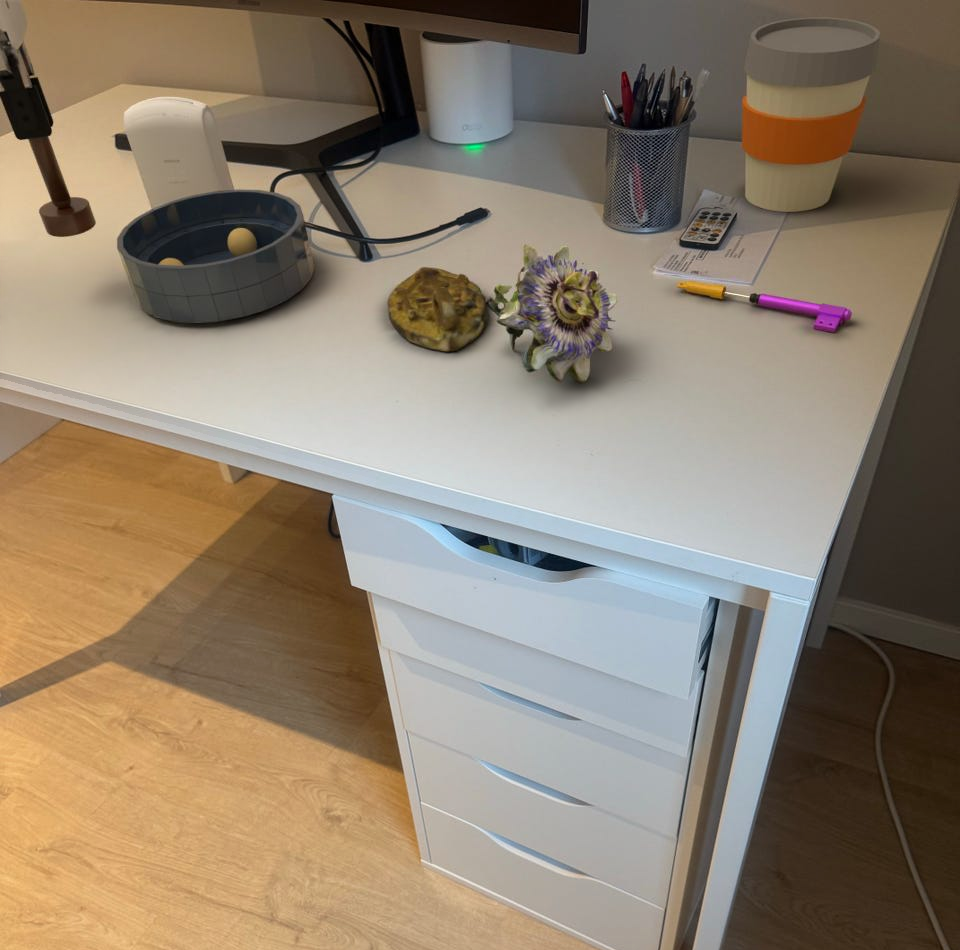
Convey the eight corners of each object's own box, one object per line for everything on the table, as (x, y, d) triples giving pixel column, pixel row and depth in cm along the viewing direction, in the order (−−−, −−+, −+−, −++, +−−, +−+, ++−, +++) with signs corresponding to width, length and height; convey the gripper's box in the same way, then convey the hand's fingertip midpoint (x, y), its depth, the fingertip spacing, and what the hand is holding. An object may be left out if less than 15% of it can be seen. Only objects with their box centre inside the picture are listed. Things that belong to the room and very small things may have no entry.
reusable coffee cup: (847, 221, 93) (884, 53, 82) (722, 216, 96) (742, 53, 85) (848, 174, 101) (882, 15, 90) (733, 171, 104) (752, 17, 93)
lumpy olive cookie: (378, 299, 91) (410, 371, 81) (366, 254, 87) (397, 322, 77) (466, 271, 91) (508, 339, 81) (457, 225, 88) (500, 290, 78)
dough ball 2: (233, 266, 95) (225, 237, 93) (230, 254, 97) (223, 226, 95) (261, 260, 95) (254, 232, 93) (258, 249, 97) (251, 221, 95)
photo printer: (149, 223, 106) (110, 106, 97) (164, 208, 109) (127, 93, 100) (232, 222, 104) (200, 103, 95) (244, 207, 107) (214, 90, 98)
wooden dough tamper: (45, 240, 88) (-21, 75, 78) (48, 221, 91) (-15, 60, 81) (95, 232, 89) (36, 67, 79) (96, 214, 92) (40, 53, 82)
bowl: (139, 343, 86) (116, 282, 82) (137, 264, 98) (117, 208, 94) (326, 307, 88) (314, 245, 84) (302, 234, 101) (290, 177, 96)
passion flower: (578, 431, 80) (552, 376, 69) (480, 379, 83) (439, 318, 72) (646, 322, 80) (631, 248, 68) (544, 275, 83) (514, 196, 72)
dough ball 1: (162, 297, 91) (152, 268, 89) (161, 284, 93) (151, 256, 91) (192, 291, 91) (182, 262, 89) (190, 279, 93) (181, 250, 91)
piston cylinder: (852, 317, 79) (681, 285, 86) (854, 306, 78) (681, 275, 85) (841, 337, 78) (669, 304, 85) (843, 326, 77) (669, 293, 84)
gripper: (-95, -132, 75) (2, 112, 89) (-130, -106, 65) (-15, 167, 78) (-1, -141, 76) (80, 102, 90) (-21, -117, 66) (74, 155, 79)
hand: (35, 131), depth 84 cm, fingers closed on wooden dough tamper
